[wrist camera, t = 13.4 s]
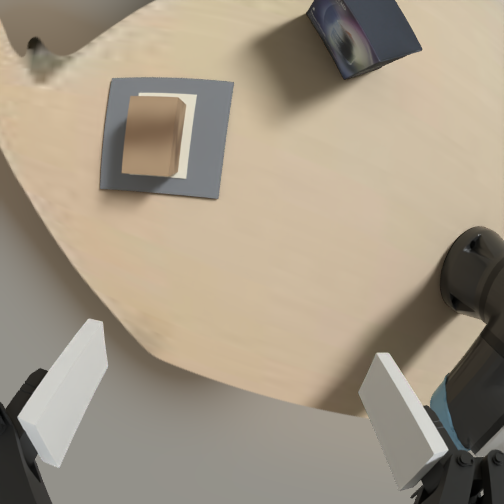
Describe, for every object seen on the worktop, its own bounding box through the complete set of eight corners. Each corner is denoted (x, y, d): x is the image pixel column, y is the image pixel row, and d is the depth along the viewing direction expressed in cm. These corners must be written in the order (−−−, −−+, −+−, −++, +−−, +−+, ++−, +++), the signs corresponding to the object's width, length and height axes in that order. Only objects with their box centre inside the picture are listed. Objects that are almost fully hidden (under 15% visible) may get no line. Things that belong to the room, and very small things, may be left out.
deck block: (178, 172, 34) (168, 176, 28) (137, 169, 33) (121, 173, 28) (186, 104, 31) (178, 97, 26) (145, 103, 31) (130, 96, 25)
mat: (234, 83, 31) (234, 81, 31) (218, 198, 36) (218, 199, 35) (113, 79, 30) (111, 78, 29) (101, 188, 34) (99, 188, 33)
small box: (301, 13, 28) (324, -25, 18) (343, 2, 28) (375, -33, 18) (342, 82, 32) (379, 62, 22) (382, 68, 31) (426, 49, 21)
